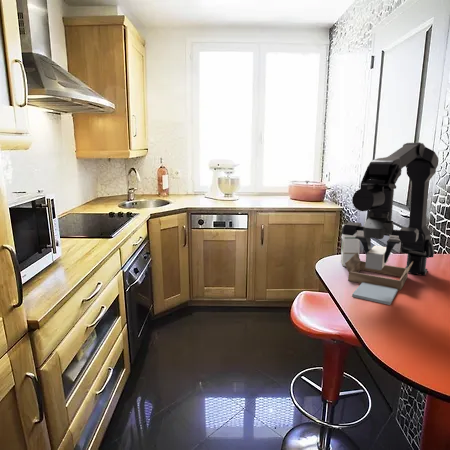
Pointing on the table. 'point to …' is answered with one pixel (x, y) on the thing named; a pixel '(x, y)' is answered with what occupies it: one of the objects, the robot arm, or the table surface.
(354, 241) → the syrup box
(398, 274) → the carton
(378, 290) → the mat
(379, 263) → the cream box
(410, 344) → the table surface
